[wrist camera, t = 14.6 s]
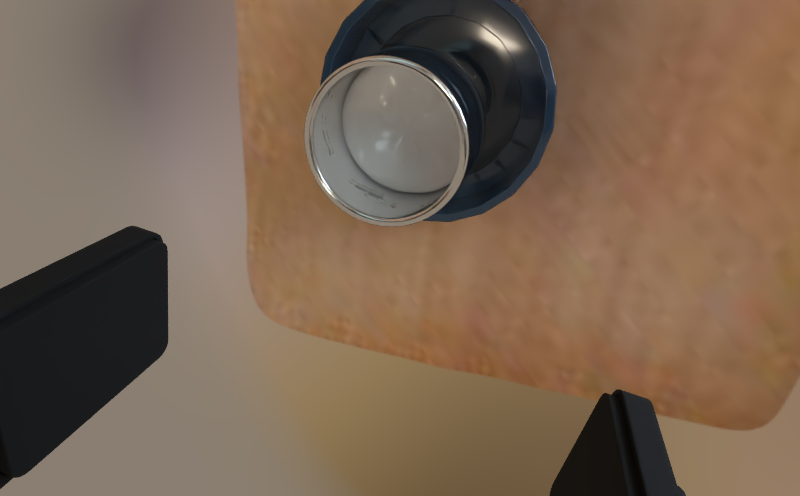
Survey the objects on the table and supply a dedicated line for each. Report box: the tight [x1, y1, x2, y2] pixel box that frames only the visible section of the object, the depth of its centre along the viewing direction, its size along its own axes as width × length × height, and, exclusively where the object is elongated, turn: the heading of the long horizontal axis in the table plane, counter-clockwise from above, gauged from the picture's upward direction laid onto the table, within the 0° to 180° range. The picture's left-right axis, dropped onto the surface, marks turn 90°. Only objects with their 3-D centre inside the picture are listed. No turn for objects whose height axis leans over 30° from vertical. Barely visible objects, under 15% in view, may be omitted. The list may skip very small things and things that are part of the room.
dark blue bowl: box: [320, 0, 557, 222], centre depth 29 cm, size 13×13×6 cm
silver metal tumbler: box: [304, 45, 494, 227], centre depth 25 cm, size 7×7×15 cm
